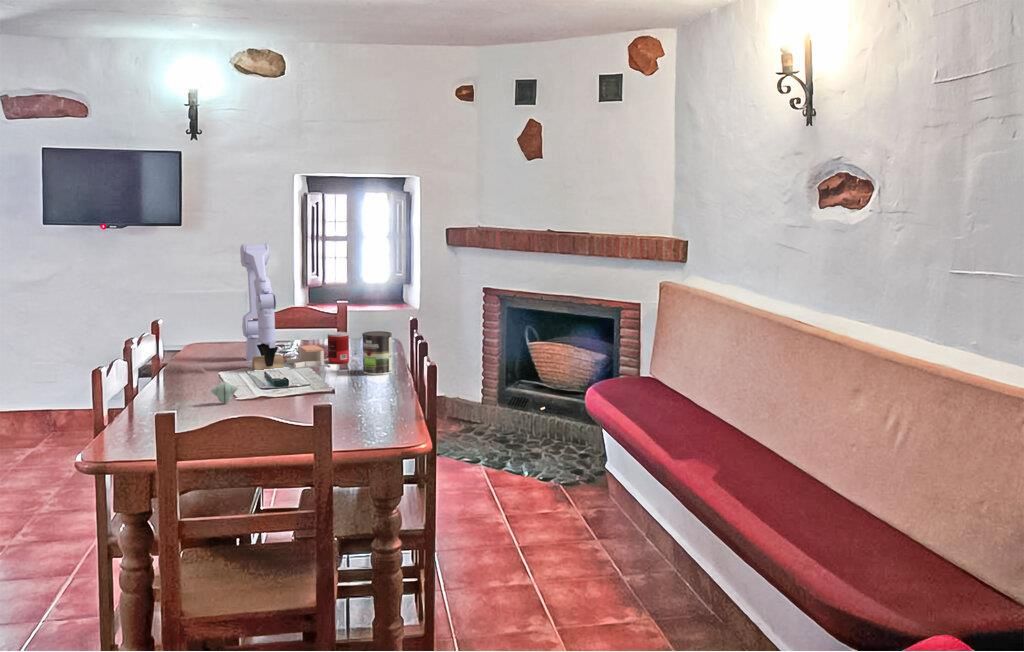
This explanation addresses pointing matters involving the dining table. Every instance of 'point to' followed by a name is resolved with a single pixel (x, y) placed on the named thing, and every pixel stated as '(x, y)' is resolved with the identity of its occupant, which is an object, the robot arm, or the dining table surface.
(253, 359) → the tan cardboard block
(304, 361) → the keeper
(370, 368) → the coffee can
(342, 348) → the canned food
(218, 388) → the pale green angular piece
